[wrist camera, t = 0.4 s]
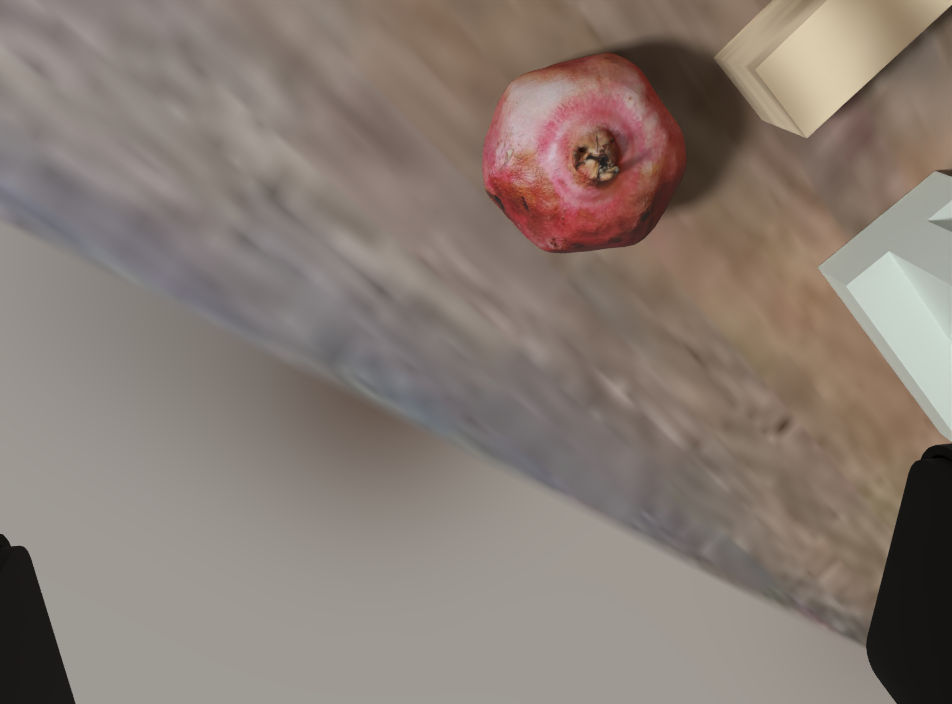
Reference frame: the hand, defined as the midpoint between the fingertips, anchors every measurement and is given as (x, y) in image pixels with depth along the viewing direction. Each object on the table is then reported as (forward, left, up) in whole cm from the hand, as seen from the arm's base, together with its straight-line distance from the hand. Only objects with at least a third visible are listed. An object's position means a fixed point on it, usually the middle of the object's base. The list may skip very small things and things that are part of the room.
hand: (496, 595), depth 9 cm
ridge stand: (+11, +33, -35) cm, 50 cm away
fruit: (+2, +9, -35) cm, 37 cm away
